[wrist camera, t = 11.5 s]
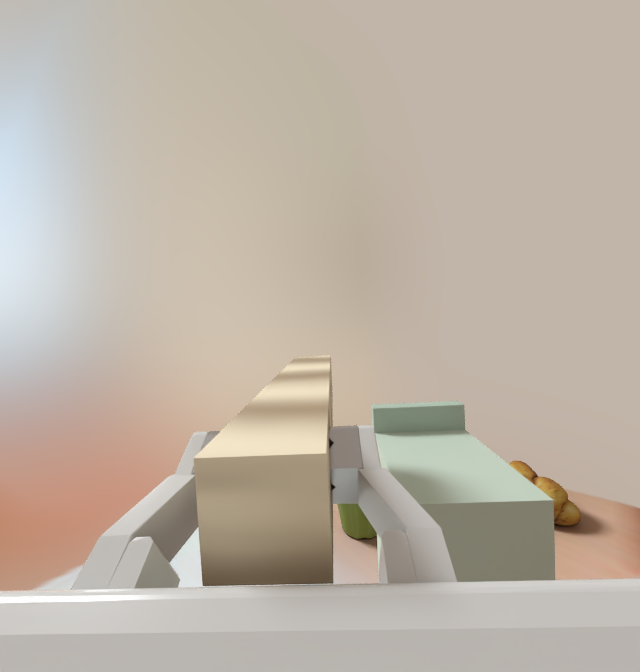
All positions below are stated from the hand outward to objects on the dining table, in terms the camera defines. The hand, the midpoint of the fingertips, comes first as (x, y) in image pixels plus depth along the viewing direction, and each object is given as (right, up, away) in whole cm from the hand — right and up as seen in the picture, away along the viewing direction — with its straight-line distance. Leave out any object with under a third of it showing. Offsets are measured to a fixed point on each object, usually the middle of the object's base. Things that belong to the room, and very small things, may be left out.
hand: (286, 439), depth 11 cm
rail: (0, -2, +6) cm, 7 cm away
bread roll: (+42, -31, +50) cm, 72 cm away
